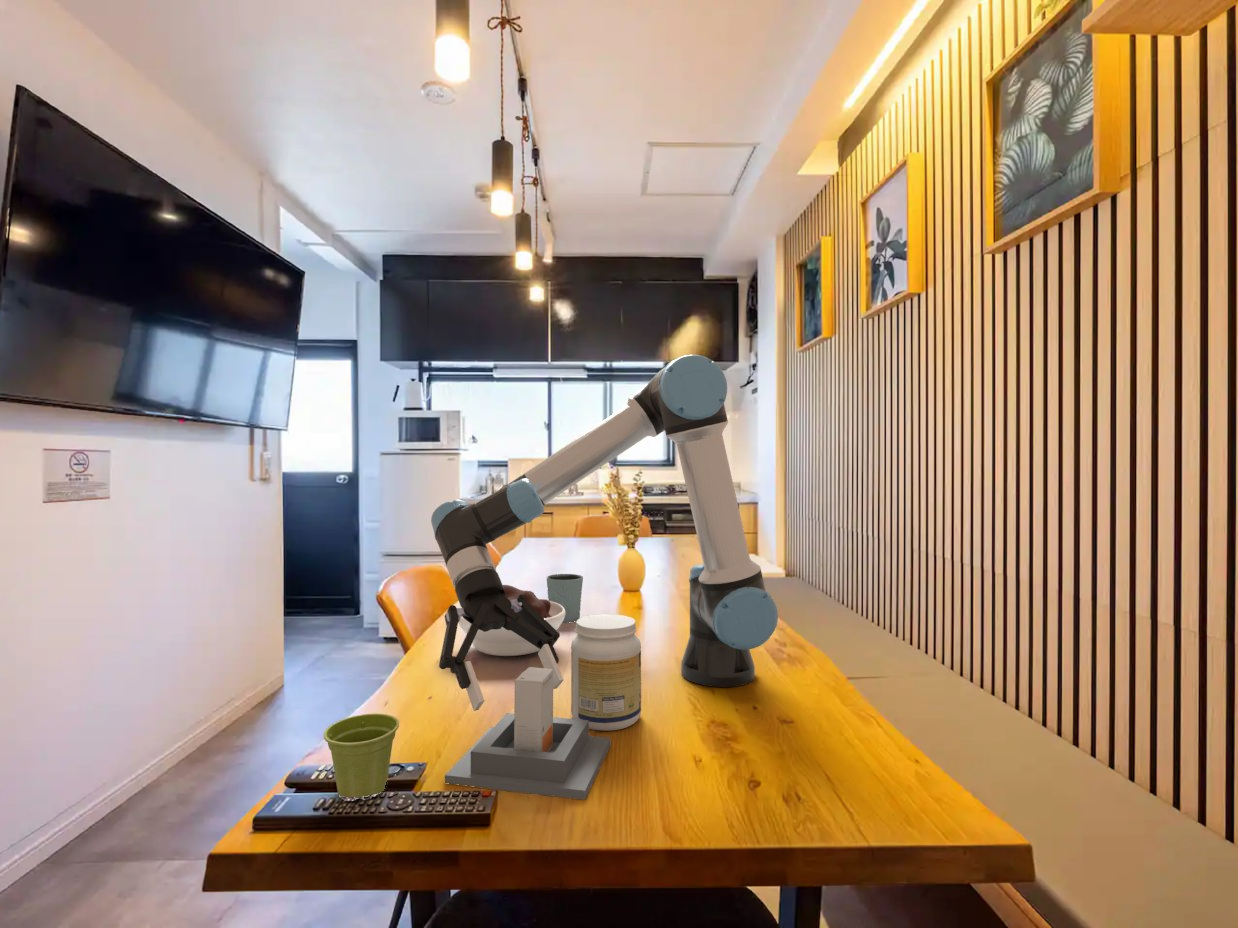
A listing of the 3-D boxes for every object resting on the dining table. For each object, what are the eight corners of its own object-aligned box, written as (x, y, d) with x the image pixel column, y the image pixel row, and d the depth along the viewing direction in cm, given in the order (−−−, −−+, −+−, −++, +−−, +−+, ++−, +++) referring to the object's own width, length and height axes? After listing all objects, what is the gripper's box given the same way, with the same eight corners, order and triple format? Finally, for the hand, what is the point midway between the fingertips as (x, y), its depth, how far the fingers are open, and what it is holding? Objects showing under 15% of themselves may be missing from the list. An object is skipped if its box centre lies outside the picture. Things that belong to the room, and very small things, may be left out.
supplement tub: (654, 723, 106) (654, 624, 106) (590, 739, 100) (590, 633, 100) (619, 699, 117) (619, 608, 117) (559, 712, 111) (559, 616, 111)
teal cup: (542, 622, 171) (542, 579, 171) (552, 613, 181) (552, 572, 181) (578, 624, 170) (578, 580, 170) (586, 615, 180) (586, 573, 180)
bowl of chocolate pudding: (576, 638, 157) (576, 578, 157) (548, 671, 132) (548, 600, 132) (482, 633, 161) (482, 574, 161) (437, 664, 137) (437, 595, 137)
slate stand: (610, 745, 98) (610, 718, 98) (585, 799, 83) (585, 767, 83) (490, 733, 102) (491, 708, 102) (444, 783, 87) (444, 753, 87)
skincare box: (541, 765, 89) (541, 681, 89) (513, 762, 90) (513, 679, 90) (554, 746, 95) (554, 667, 95) (527, 743, 96) (527, 666, 96)
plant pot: (353, 818, 78) (353, 749, 78) (309, 796, 83) (308, 731, 83) (413, 785, 86) (413, 722, 86) (370, 767, 91) (370, 708, 91)
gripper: (531, 583, 116) (578, 688, 104) (396, 603, 100) (433, 728, 89) (547, 559, 112) (597, 664, 100) (408, 575, 96) (449, 702, 85)
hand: (520, 695), depth 94 cm, fingers open, 13 cm apart
